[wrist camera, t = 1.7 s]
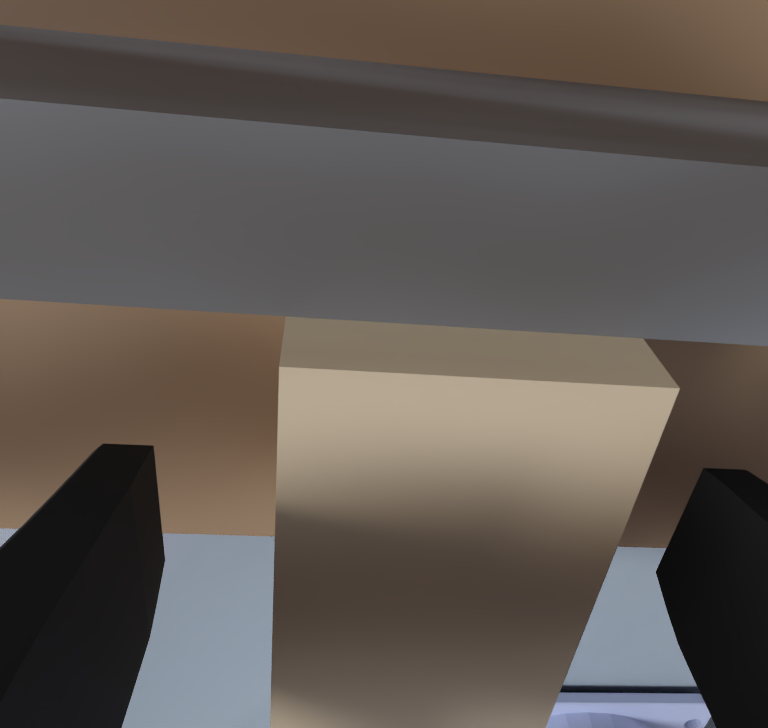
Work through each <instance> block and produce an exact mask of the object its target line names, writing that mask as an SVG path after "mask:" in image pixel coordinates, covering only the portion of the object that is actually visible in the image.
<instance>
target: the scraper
mask: <svg viewBox="0 0 768 728" xmlns="http://www.w3.org/2000/svg"><path fill="white" fill-rule="evenodd" d="M0 299H11V300H28V301H44V302H60V303H76V304H92V305H109V306H125V307H141V308H157V309H173V310H190V311H206V312H222V313H238V314H254V315H271V316H286V319H285V326H284V334H283V341H282V349H281V356H280V364H279V391H278V431H277V472H276V512H275V553H274V593H273V634H272V675H271V715H270V728H546V726H547V723H548V721H549V718H550V715H551V713H552V710H553V708H554V705H555V703H556V700H557V698H558V695H559V693H560V690H561V688H562V685H563V683H564V680H565V678H566V675H567V673H568V670H569V668H570V665H571V662H572V660H573V657H574V655H575V652H576V650H577V647H578V645H579V642H580V640H581V637H582V635H583V632H584V630H585V627H586V625H587V622H588V620H589V617H590V615H591V612H592V609H593V607H594V604H595V602H596V599H597V597H598V594H599V592H600V589H601V587H602V584H603V582H604V579H605V577H606V574H607V572H608V569H609V567H610V564H611V562H612V559H613V556H614V554H615V551H616V549H617V546H618V544H619V541H620V539H621V536H622V534H623V531H624V529H625V526H626V524H627V521H628V519H629V516H630V514H631V511H632V509H633V506H634V503H635V501H636V498H637V496H638V493H639V491H640V488H641V486H642V483H643V481H644V478H645V476H646V473H647V471H648V468H649V466H650V463H651V461H652V458H653V456H654V453H655V450H656V448H657V445H658V443H659V440H660V438H661V435H662V433H663V430H664V428H665V425H666V423H667V420H668V418H669V415H670V413H671V410H672V408H673V405H674V403H675V400H676V397H677V395H678V392H679V390H680V388H679V386H678V385H677V384H676V382H675V381H674V380H673V378H672V377H671V376H670V374H669V373H668V372H667V370H666V369H665V367H664V366H663V365H662V363H661V362H660V361H659V359H658V358H657V357H656V355H655V354H654V353H653V351H652V350H651V349H650V347H649V346H648V344H647V343H646V342H645V340H644V339H659V340H675V341H692V342H708V343H724V344H740V345H756V346H768V101H758V100H748V99H738V98H728V97H718V96H708V95H698V94H688V93H678V92H668V91H658V90H648V89H638V88H628V87H618V86H608V85H598V84H588V83H578V82H568V81H558V80H548V79H538V78H528V77H518V76H508V75H498V74H488V73H478V72H468V71H458V70H448V69H438V68H428V67H418V66H408V65H398V64H388V63H378V62H368V61H358V60H348V59H338V58H328V57H318V56H308V55H298V54H288V53H278V52H268V51H258V50H248V49H238V48H228V47H218V46H208V45H198V44H188V43H178V42H168V41H158V40H148V39H138V38H128V37H118V36H108V35H98V34H88V33H78V32H68V31H58V30H48V29H38V28H28V27H18V26H8V25H0Z"/></svg>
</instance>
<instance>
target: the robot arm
mask: <svg viewBox="0 0 768 728" xmlns="http://www.w3.org/2000/svg"><path fill="white" fill-rule="evenodd" d="M164 562H165V556H164V546H163V536H162V525H161V515H160V505H159V495H158V484H157V474H156V464H155V454H154V446H153V445H129V444H104V443H103V444H102V445H101V446H99V447H98V448H97V449H96V450H94V451H93V453H92V454H91V455H90V456H89V457H88V458H87V459H86V460H85V461H84V462H83V463H82V464H81V465H80V466H79V467H78V468H77V469H76V470H75V472H74V473H73V474H72V475H71V476H70V477H69V478H68V479H67V480H66V481H65V482H64V483H63V484H62V485H61V486H60V487H59V488H58V489H57V491H56V492H55V493H54V494H53V495H52V496H51V497H50V498H49V499H48V500H47V501H46V502H45V503H44V504H43V505H42V506H41V507H40V508H39V509H38V510H37V511H36V512H35V513H34V514H33V515H32V516H31V517H30V518H29V519H28V520H27V521H26V522H25V523H24V525H23V526H22V527H21V528H20V529H18V530H17V531H16V532H15V533H14V534H13V535H12V536H11V537H10V538H9V539H8V540H7V541H6V542H5V543H4V544H3V545H2V546H1V547H0V728H121V727H122V724H123V721H124V718H125V715H126V711H127V708H128V705H129V702H130V699H131V696H132V692H133V689H134V686H135V683H136V680H137V677H138V673H139V670H140V667H141V664H142V661H143V657H144V654H145V651H146V648H147V644H148V641H149V638H150V633H151V629H152V624H153V619H154V614H155V609H156V604H157V599H158V594H159V589H160V583H161V578H162V573H163V567H164ZM656 574H657V577H658V581H659V584H660V588H661V591H662V594H663V598H664V601H665V605H666V608H667V611H668V614H669V617H670V620H671V623H672V626H673V629H674V632H675V635H676V638H677V641H678V644H679V646H680V649H681V651H682V653H683V656H684V658H685V660H686V662H687V665H688V667H689V669H690V671H691V673H692V676H693V678H694V680H695V682H696V684H697V687H698V689H699V691H700V693H701V694H698V693H566V692H560V693H559V695H558V698H557V700H556V703H555V705H554V708H553V710H552V713H551V715H550V718H549V721H548V723H547V726H546V728H704V727H705V726H706V724H707V722H708V721H709V719H710V717H712V719H713V721H714V723H715V726H716V728H768V484H767V483H766V482H764V481H763V480H761V479H760V478H758V477H757V476H755V475H754V474H752V473H751V472H749V471H747V470H743V469H719V468H703V470H702V472H701V474H700V476H699V478H698V481H697V483H696V485H695V487H694V489H693V492H692V494H691V496H690V498H689V500H688V503H687V505H686V507H685V509H684V511H683V514H682V516H681V518H680V520H679V522H678V524H677V527H676V529H675V531H674V533H673V535H672V538H671V540H670V542H669V544H668V546H667V549H666V551H665V553H664V555H663V557H662V560H661V562H660V564H659V566H658V568H657V571H656Z"/></svg>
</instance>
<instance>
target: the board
mask: <svg viewBox="0 0 768 728" xmlns="http://www.w3.org/2000/svg"><path fill="white" fill-rule="evenodd" d="M0 25H8V26H18V27H28V28H38V29H48V30H58V31H68V32H78V33H88V34H98V35H108V36H118V37H128V38H138V39H148V40H158V41H168V42H178V43H188V44H198V45H208V46H218V47H228V48H238V49H248V50H258V51H268V52H278V53H288V54H298V55H308V56H318V57H328V58H338V59H348V60H358V61H368V62H378V63H388V64H398V65H408V66H418V67H428V68H438V69H448V70H458V71H468V72H478V73H488V74H498V75H508V76H518V77H528V78H538V79H548V80H558V81H568V82H578V83H588V84H598V85H608V86H618V87H628V88H638V89H648V90H658V91H668V92H678V93H688V94H698V95H708V96H718V97H728V98H738V99H748V100H758V101H768V0H0ZM285 319H286V316H271V315H254V314H238V313H222V312H206V311H190V310H173V309H157V308H141V307H125V306H109V305H92V304H76V303H60V302H44V301H28V300H11V299H0V528H12V529H20V528H21V527H22V526H23V525H24V523H25V522H26V521H27V520H28V519H29V518H30V517H31V516H32V515H33V514H34V513H35V512H36V511H37V510H38V509H39V508H40V507H41V506H42V505H43V504H44V503H45V502H46V501H47V500H48V499H49V498H50V497H51V496H52V495H53V494H54V493H55V492H56V491H57V489H58V488H59V487H60V486H61V485H62V484H63V483H64V482H65V481H66V480H67V479H68V478H69V477H70V476H71V475H72V474H73V473H74V472H75V470H76V469H77V468H78V467H79V466H80V465H81V464H82V463H83V462H84V461H85V460H86V459H87V458H88V457H89V456H90V455H91V454H92V453H93V451H94V450H96V449H97V448H98V447H99V446H101V445H102V444H103V443H104V444H129V445H153V446H154V454H155V464H156V474H157V484H158V495H159V505H160V515H161V525H162V533H181V534H214V535H248V536H275V512H276V472H277V431H278V391H279V364H280V356H281V349H282V341H283V334H284V326H285ZM644 340H645V342H646V343H647V344H648V346H649V347H650V349H651V350H652V351H653V353H654V354H655V355H656V357H657V358H658V359H659V361H660V362H661V363H662V365H663V366H664V367H665V369H666V370H667V372H668V373H669V374H670V376H671V377H672V378H673V380H674V381H675V382H676V384H677V385H678V386H679V388H680V390H679V392H678V395H677V397H676V400H675V403H674V405H673V408H672V410H671V413H670V415H669V418H668V420H667V423H666V425H665V428H664V430H663V433H662V435H661V438H660V440H659V443H658V445H657V448H656V450H655V453H654V456H653V458H652V461H651V463H650V466H649V468H648V471H647V473H646V476H645V478H644V481H643V483H642V486H641V488H640V491H639V493H638V496H637V498H636V501H635V503H634V506H633V509H632V511H631V514H630V516H629V519H628V521H627V524H626V526H625V529H624V531H623V534H622V536H621V539H620V541H619V544H618V546H619V547H652V548H667V546H668V544H669V542H670V540H671V538H672V535H673V533H674V531H675V529H676V527H677V524H678V522H679V520H680V518H681V516H682V514H683V511H684V509H685V507H686V505H687V503H688V500H689V498H690V496H691V494H692V492H693V489H694V487H695V485H696V483H697V481H698V478H699V476H700V474H701V472H702V470H703V468H719V469H743V470H747V471H749V472H751V473H752V474H754V475H755V476H757V477H758V478H760V479H761V480H763V481H764V482H766V483H767V484H768V346H756V345H740V344H724V343H708V342H692V341H675V340H659V339H644Z"/></svg>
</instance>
